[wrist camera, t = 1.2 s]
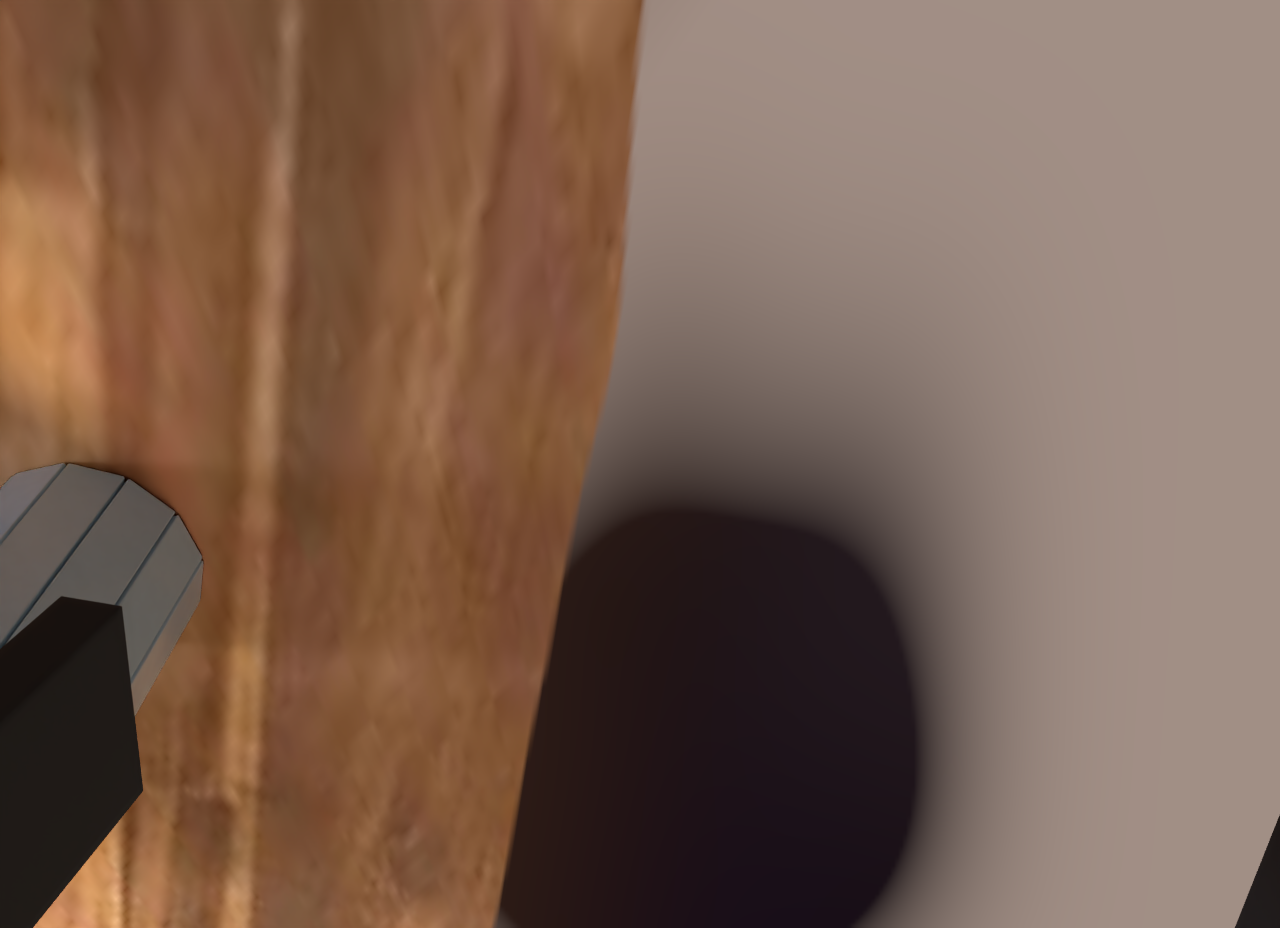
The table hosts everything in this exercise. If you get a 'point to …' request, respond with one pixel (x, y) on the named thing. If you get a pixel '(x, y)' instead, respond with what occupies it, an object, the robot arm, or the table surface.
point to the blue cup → (98, 559)
